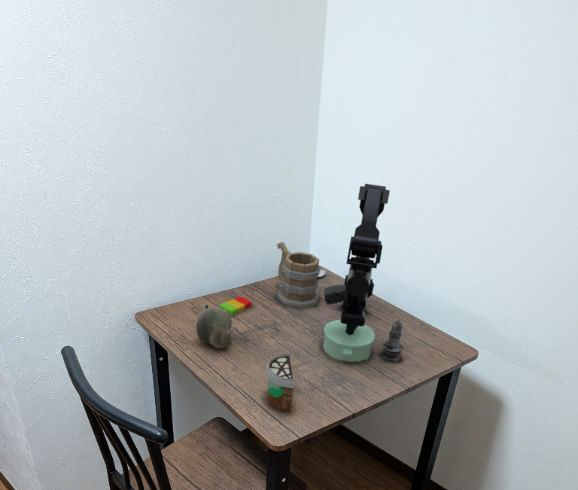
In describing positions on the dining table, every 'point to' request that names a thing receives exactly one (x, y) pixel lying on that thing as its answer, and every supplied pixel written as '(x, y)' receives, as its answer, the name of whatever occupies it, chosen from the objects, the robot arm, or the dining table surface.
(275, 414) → the dining table surface
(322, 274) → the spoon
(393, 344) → the dark grey tall piece
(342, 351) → the pot
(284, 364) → the food container
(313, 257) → the tankard
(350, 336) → the pot lid
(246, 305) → the popsicle
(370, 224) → the robot arm
